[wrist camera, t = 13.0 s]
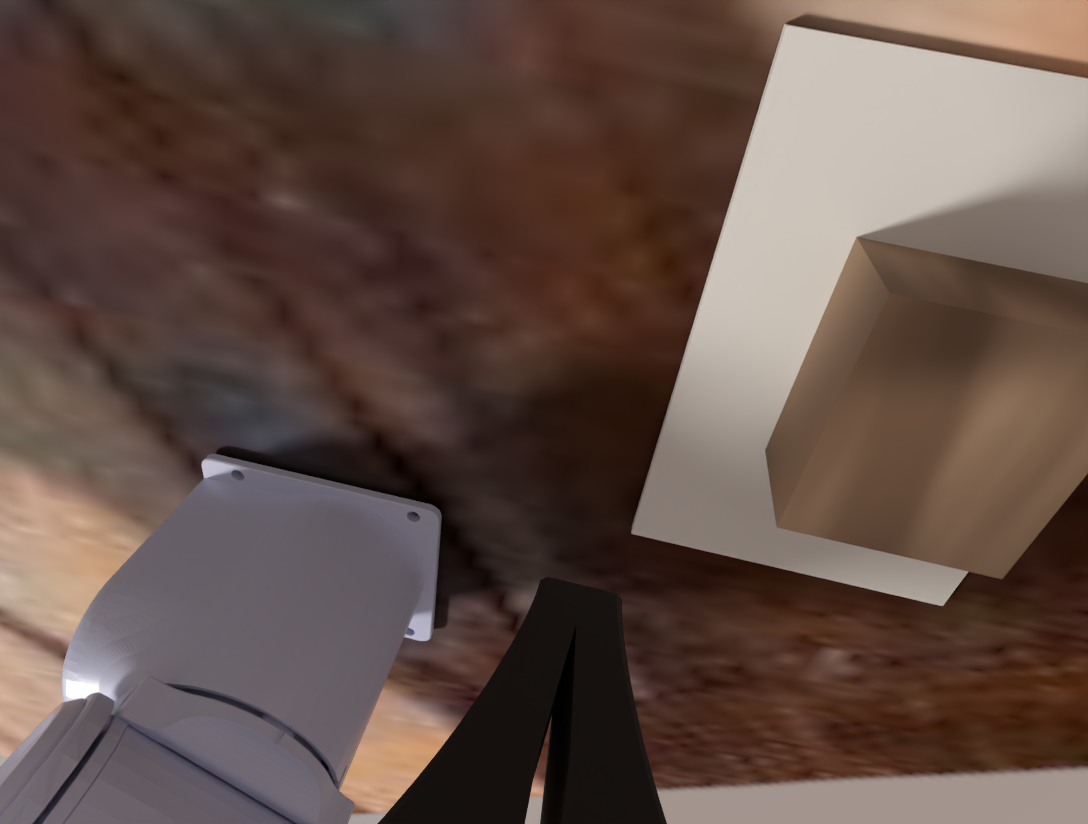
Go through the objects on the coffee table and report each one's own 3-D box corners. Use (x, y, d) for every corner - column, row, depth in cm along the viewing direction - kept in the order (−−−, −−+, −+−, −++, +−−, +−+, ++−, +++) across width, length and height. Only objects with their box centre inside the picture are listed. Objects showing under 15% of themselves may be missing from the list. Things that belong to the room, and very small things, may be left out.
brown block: (776, 527, 18) (1002, 579, 18) (889, 293, 14) (1184, 353, 14) (764, 450, 21) (959, 493, 21) (856, 237, 17) (1099, 285, 17)
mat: (631, 526, 24) (630, 533, 24) (784, 23, 15) (786, 25, 15) (939, 597, 24) (942, 605, 23) (1296, 115, 14) (1310, 118, 14)
